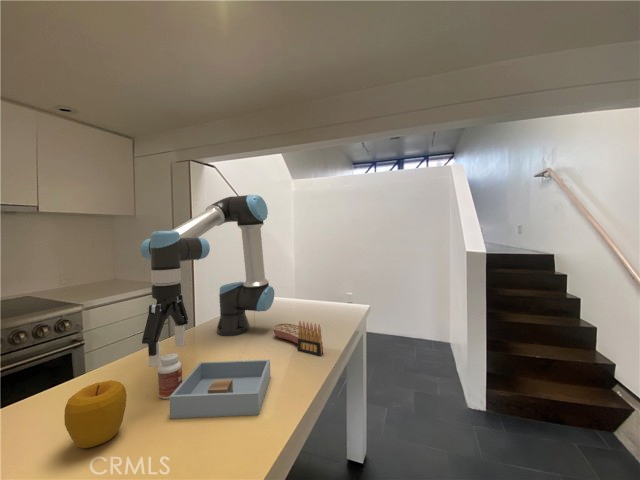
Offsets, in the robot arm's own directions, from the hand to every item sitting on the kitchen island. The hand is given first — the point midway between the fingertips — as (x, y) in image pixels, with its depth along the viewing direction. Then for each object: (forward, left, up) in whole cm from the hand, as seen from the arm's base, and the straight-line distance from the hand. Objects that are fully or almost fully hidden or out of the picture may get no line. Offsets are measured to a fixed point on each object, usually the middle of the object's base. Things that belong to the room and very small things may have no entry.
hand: (168, 355), depth 80 cm
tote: (+2, +17, -12) cm, 21 cm away
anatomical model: (-37, +34, -12) cm, 52 cm away
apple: (+18, -7, -12) cm, 22 cm away
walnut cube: (+6, +17, -11) cm, 21 cm away
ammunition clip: (-24, +41, -12) cm, 49 cm away
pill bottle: (0, 0, -12) cm, 12 cm away
